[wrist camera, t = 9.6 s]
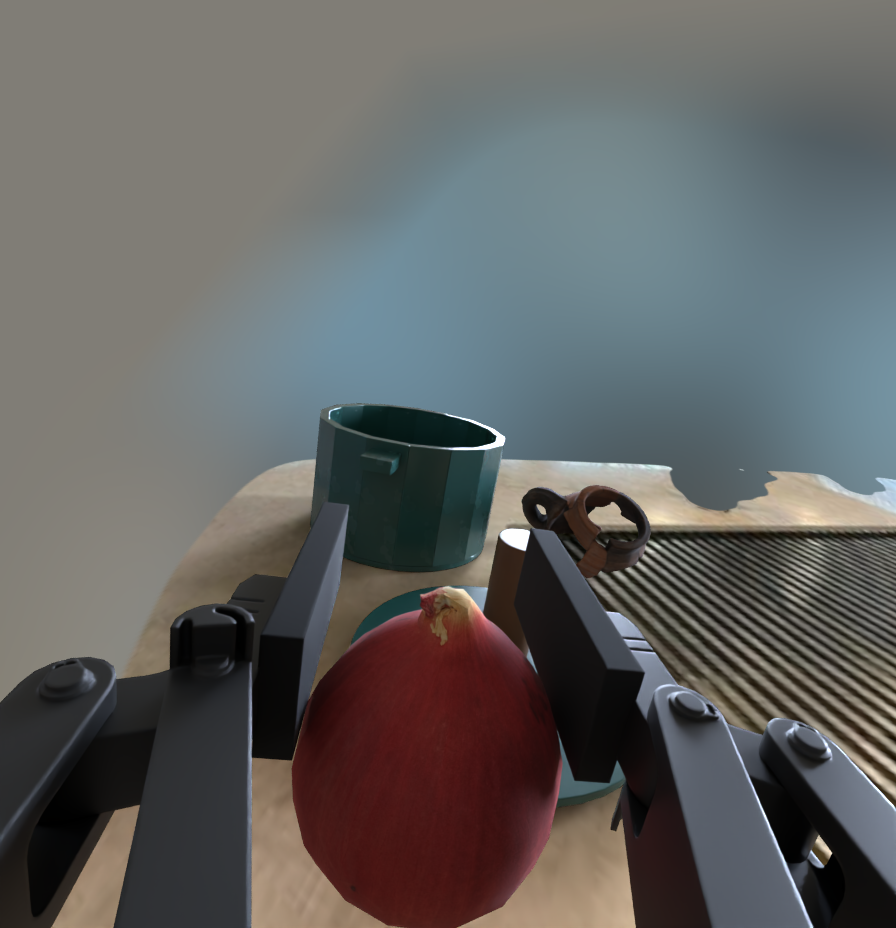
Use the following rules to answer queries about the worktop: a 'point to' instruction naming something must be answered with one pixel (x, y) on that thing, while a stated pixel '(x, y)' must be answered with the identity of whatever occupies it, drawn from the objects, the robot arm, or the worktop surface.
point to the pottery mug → (589, 525)
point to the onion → (428, 767)
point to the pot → (407, 484)
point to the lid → (502, 613)
